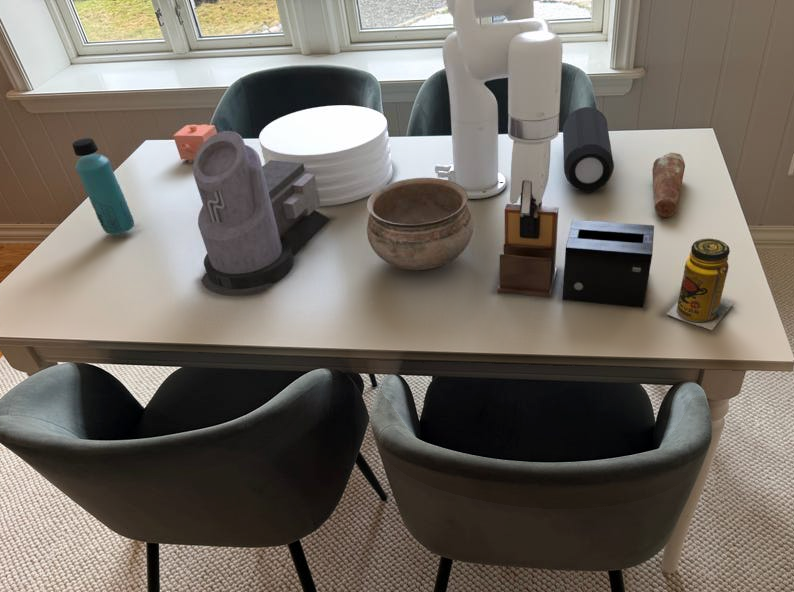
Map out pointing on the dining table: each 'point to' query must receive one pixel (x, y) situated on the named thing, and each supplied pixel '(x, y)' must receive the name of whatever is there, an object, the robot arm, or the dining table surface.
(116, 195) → the beverage bottle
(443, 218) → the cooking pot
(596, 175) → the portable speaker
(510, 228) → the toast
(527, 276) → the rack
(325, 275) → the dining table surface
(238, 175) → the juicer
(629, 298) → the toaster
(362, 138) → the plate stack
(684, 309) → the condiment
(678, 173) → the reddish-brown tapered rod
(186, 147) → the pink cube teapot
